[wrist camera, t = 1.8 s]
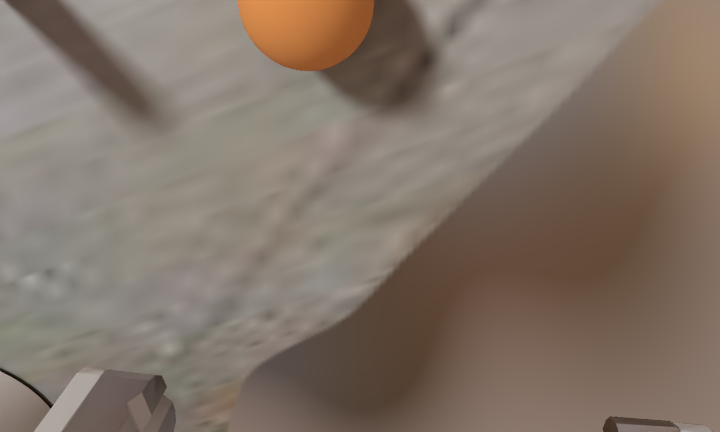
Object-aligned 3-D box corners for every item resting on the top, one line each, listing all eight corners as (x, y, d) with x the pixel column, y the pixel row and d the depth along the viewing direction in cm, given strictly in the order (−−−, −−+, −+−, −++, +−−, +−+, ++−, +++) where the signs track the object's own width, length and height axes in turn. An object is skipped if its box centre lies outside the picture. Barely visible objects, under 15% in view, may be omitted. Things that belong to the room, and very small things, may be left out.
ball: (355, 67, 28) (338, 110, 23) (246, 23, 28) (205, 57, 23) (398, -51, 25) (390, -30, 20) (276, -104, 24) (236, -96, 19)
